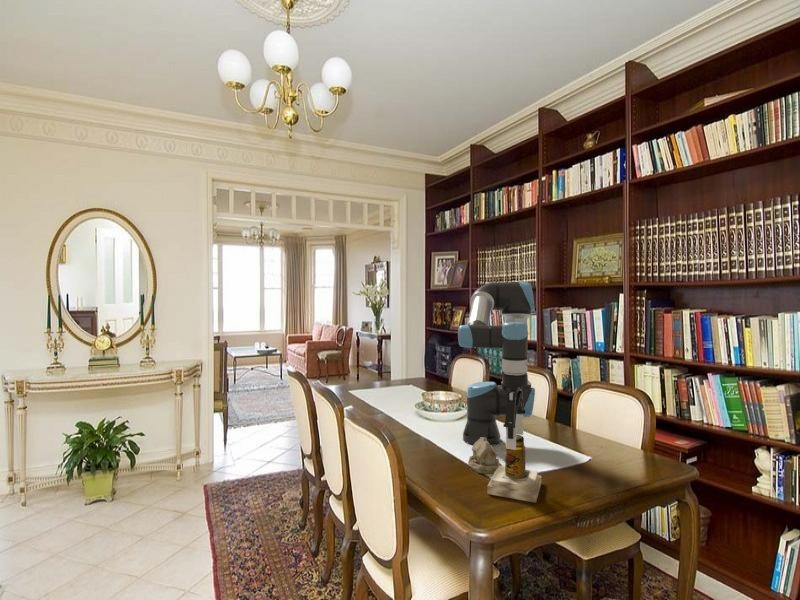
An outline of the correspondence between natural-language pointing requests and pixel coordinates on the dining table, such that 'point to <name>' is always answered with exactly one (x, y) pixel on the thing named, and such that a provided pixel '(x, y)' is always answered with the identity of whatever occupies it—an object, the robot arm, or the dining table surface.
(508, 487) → the plinth
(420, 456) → the dining table surface
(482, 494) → the dining table surface
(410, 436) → the dining table surface
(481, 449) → the ceramic model
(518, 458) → the condiment
